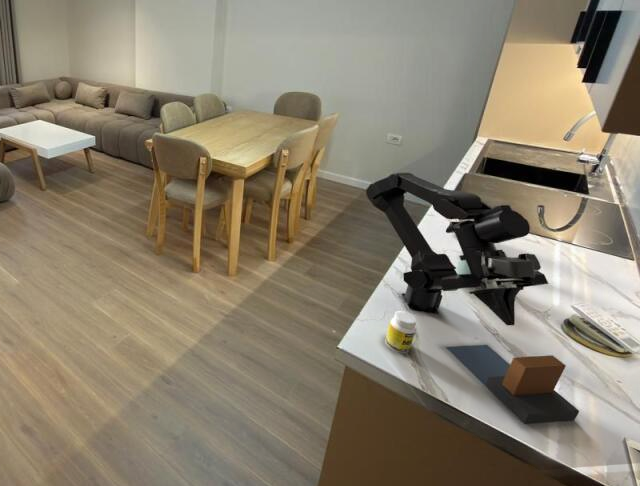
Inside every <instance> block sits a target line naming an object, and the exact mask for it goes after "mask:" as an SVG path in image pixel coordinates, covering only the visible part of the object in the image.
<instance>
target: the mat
mask: <svg viewBox="0 0 640 486" xmlns="http://www.w3.org/2000/svg"><path fill="white" fill-rule="evenodd" d="M445 348H446V349H447V350H448V352H450V353H451V355H452V356H453V357H454V358H456V359H457V361H459V362H460V363H461V364H462V365H463V366H464V367H465V368H466V369H467V370H468V372H470V373H471V374H472V375H473V376H474V377H475V378H476V379H477V380H478V381H479V382H480V383H481V384H482V385H483V386H485V384H486V382H487V380H488V377H494V376H506V374H507V371H508V369H509V367H510V364H511V363H508V362H507V361H506V360H505V359H504V357H502V356H500V354H498V353H497V352H496V351H495V350H493V349H492V347H490V346H489V345H488V344H475V345H474V344H473V345H457V346H454V345H453V346H445ZM498 401H500V403H502V404H503V405H504V407H506V408H507V409H508V410H509V411H510V412H511V413H512V414H513V415H514V416H515V417H516V418H517V419H518V420H519V421H520V422H521V423H522V424H523V425H531V424H532V425H533V424H534V423H523V422H522V421H521V420H520V419H519V418H518V417H517V416H516V415H515V414H514V413H513V412H512V411H511V410H510V409H509V408H508V407H507V406H506V405H505V404H504V403H503V402H502V401H501V400H500V399H498ZM575 420H576V419H575ZM575 420H567V421H566V422H574V421H575ZM560 422H564V421H552V422H551V423H560ZM547 423H549V422H538V423H537V424H547Z"/></svg>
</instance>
